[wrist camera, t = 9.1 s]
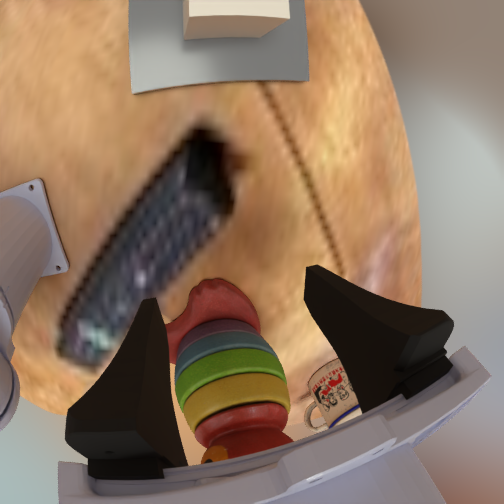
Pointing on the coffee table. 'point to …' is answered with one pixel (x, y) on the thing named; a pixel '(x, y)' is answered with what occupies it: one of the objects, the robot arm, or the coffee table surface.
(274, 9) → the block
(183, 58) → the plate
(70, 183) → the coffee table surface
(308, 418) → the teacup with lid
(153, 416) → the robot arm
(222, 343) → the stacking bear
